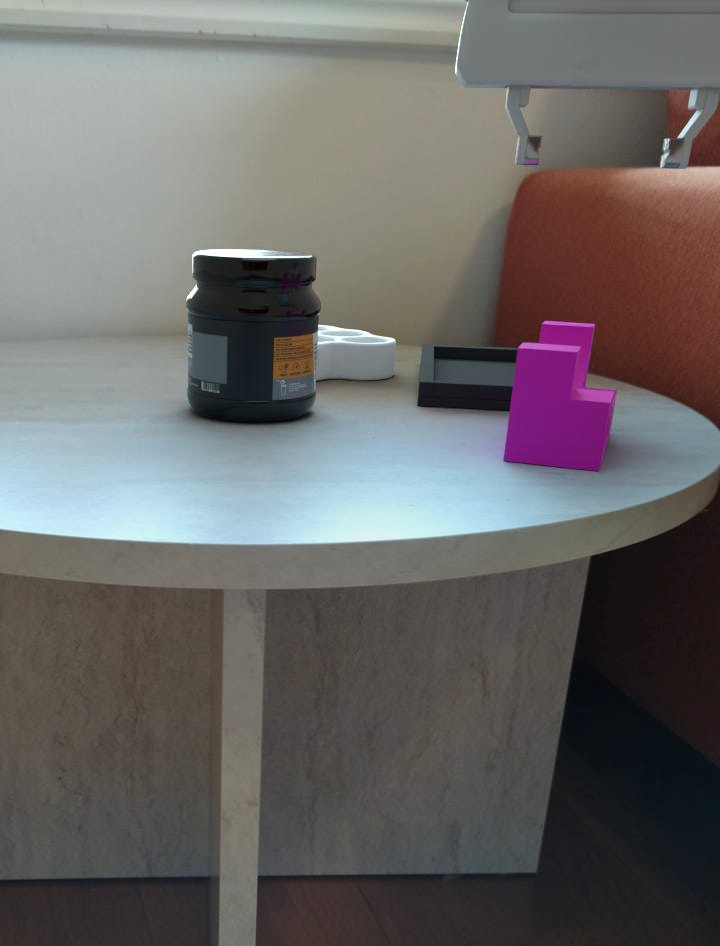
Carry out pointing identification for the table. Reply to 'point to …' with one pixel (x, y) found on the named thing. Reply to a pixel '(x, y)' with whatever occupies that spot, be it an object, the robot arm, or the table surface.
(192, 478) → the table surface
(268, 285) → the supplement container
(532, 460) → the toy block
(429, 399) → the socket pad
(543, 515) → the table surface
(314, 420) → the table surface
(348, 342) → the white well tray
